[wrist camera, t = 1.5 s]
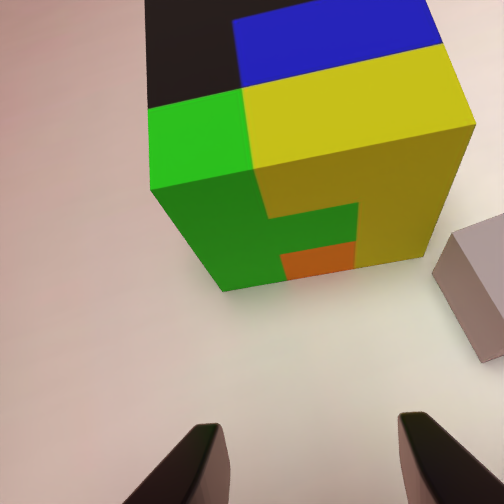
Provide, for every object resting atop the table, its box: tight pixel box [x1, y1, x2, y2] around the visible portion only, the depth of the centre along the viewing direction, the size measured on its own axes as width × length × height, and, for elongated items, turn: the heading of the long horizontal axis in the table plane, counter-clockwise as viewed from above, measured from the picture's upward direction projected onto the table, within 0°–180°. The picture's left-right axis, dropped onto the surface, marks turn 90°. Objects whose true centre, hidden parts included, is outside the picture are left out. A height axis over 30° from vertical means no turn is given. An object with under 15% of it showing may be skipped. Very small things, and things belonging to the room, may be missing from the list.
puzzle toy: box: [145, 0, 476, 292], centre depth 21 cm, size 10×10×10 cm
